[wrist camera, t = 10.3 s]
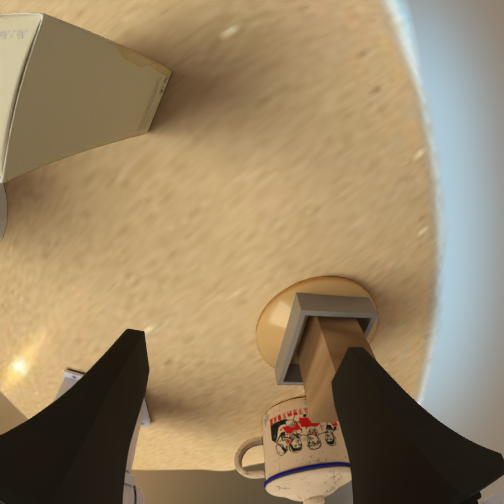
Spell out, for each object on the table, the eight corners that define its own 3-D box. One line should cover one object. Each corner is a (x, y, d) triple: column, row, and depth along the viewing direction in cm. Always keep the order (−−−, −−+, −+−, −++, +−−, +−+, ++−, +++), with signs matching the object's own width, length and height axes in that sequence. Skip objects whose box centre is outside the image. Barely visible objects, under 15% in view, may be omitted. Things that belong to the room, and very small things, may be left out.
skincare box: (174, 70, 14) (59, 5, 3) (147, 137, 16) (6, 191, 5) (89, 50, 13) (-56, 20, 2) (67, 113, 14) (-86, 145, 3)
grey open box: (248, 366, 24) (249, 391, 22) (267, 270, 20) (271, 293, 18) (351, 368, 25) (359, 390, 23) (391, 281, 21) (407, 301, 18)
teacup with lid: (341, 386, 27) (370, 484, 16) (335, 425, 31) (354, 504, 20) (226, 403, 27) (225, 506, 17) (241, 439, 31) (243, 520, 21)
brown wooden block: (296, 351, 23) (311, 423, 16) (312, 302, 20) (337, 377, 14) (330, 352, 23) (351, 420, 17) (349, 305, 21) (382, 374, 14)
